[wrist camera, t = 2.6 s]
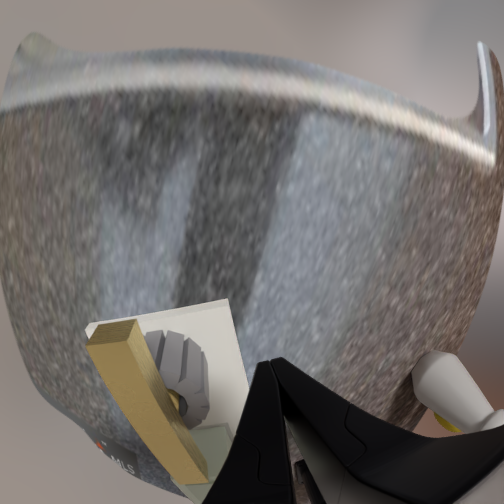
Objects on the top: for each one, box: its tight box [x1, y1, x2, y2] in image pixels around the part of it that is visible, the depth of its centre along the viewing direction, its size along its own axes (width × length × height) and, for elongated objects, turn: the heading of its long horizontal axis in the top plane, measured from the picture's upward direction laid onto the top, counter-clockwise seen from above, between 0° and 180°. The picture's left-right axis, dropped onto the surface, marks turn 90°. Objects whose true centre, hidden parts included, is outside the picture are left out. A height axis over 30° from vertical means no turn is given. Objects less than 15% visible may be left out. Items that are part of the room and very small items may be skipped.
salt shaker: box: [411, 350, 504, 434], centre depth 17 cm, size 6×6×13 cm
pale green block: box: [171, 426, 232, 504], centre depth 18 cm, size 6×4×5 cm
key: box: [86, 319, 209, 485], centre depth 14 cm, size 12×2×6 cm, turn 10°
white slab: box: [85, 298, 249, 442], centre depth 17 cm, size 17×10×5 cm, turn 10°
